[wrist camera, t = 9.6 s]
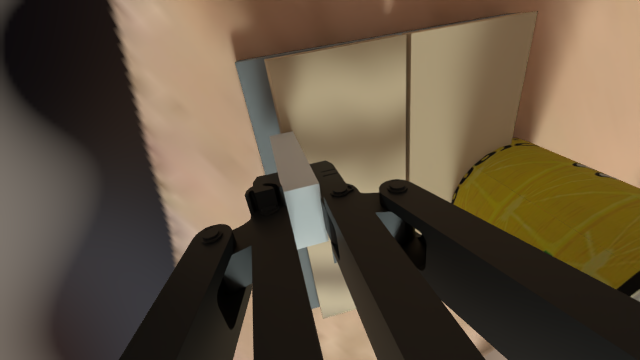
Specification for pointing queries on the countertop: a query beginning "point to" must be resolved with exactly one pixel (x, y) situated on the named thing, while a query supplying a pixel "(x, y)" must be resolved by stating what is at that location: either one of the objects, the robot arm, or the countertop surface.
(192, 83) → the countertop surface
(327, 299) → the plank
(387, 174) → the tan flat block
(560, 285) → the robot arm
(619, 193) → the beverage can
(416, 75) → the underlay
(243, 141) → the countertop surface
